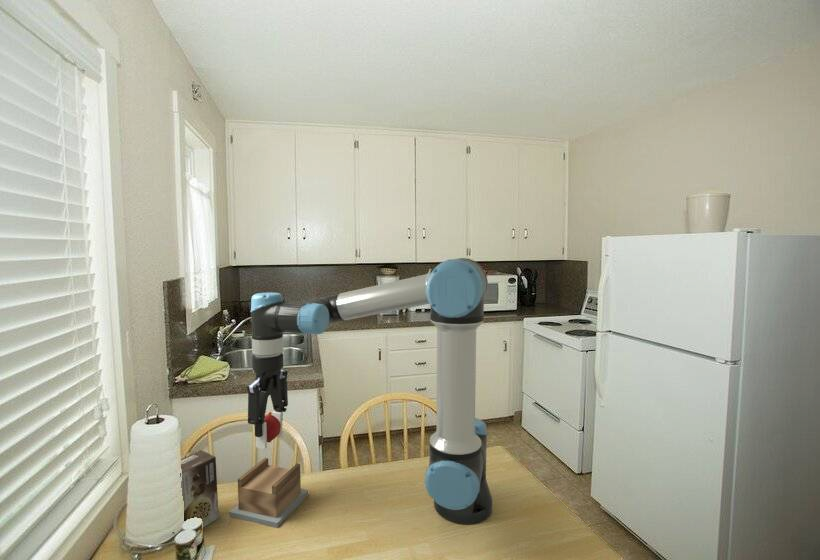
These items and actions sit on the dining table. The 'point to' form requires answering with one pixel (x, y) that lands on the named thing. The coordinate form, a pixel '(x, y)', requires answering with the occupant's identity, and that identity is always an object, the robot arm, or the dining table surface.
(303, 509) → the dining table surface
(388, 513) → the dining table surface
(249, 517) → the base board
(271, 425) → the onion
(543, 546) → the dining table surface
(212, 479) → the coffee box
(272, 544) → the dining table surface
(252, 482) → the wooden channel block
